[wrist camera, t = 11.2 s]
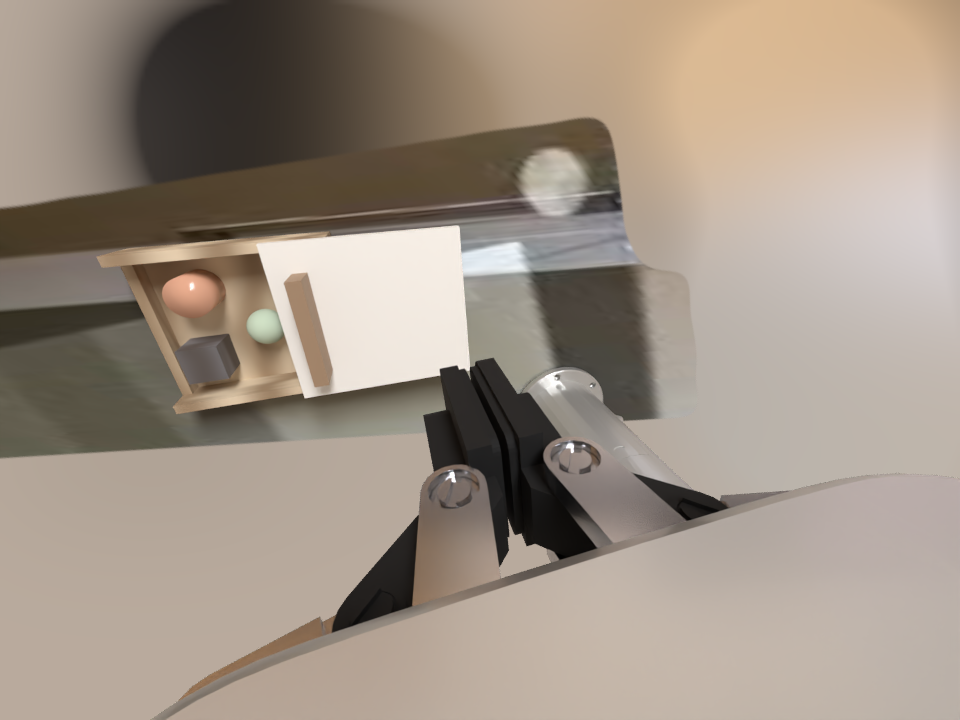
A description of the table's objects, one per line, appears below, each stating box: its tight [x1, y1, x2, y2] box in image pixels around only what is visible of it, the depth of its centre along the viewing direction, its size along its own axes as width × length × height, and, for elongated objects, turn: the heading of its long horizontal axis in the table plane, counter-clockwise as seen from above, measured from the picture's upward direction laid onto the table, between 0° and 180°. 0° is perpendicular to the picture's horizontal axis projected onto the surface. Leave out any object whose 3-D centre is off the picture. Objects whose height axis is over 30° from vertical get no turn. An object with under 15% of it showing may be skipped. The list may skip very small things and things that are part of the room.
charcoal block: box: [174, 333, 240, 385], centre depth 34 cm, size 3×3×3 cm
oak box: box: [97, 231, 331, 414], centre depth 34 cm, size 16×14×4 cm
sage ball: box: [246, 309, 284, 344], centre depth 34 cm, size 3×3×3 cm
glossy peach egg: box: [162, 269, 226, 318], centre depth 31 cm, size 3×3×3 cm
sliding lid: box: [256, 226, 470, 398], centre depth 32 cm, size 16×14×4 cm
